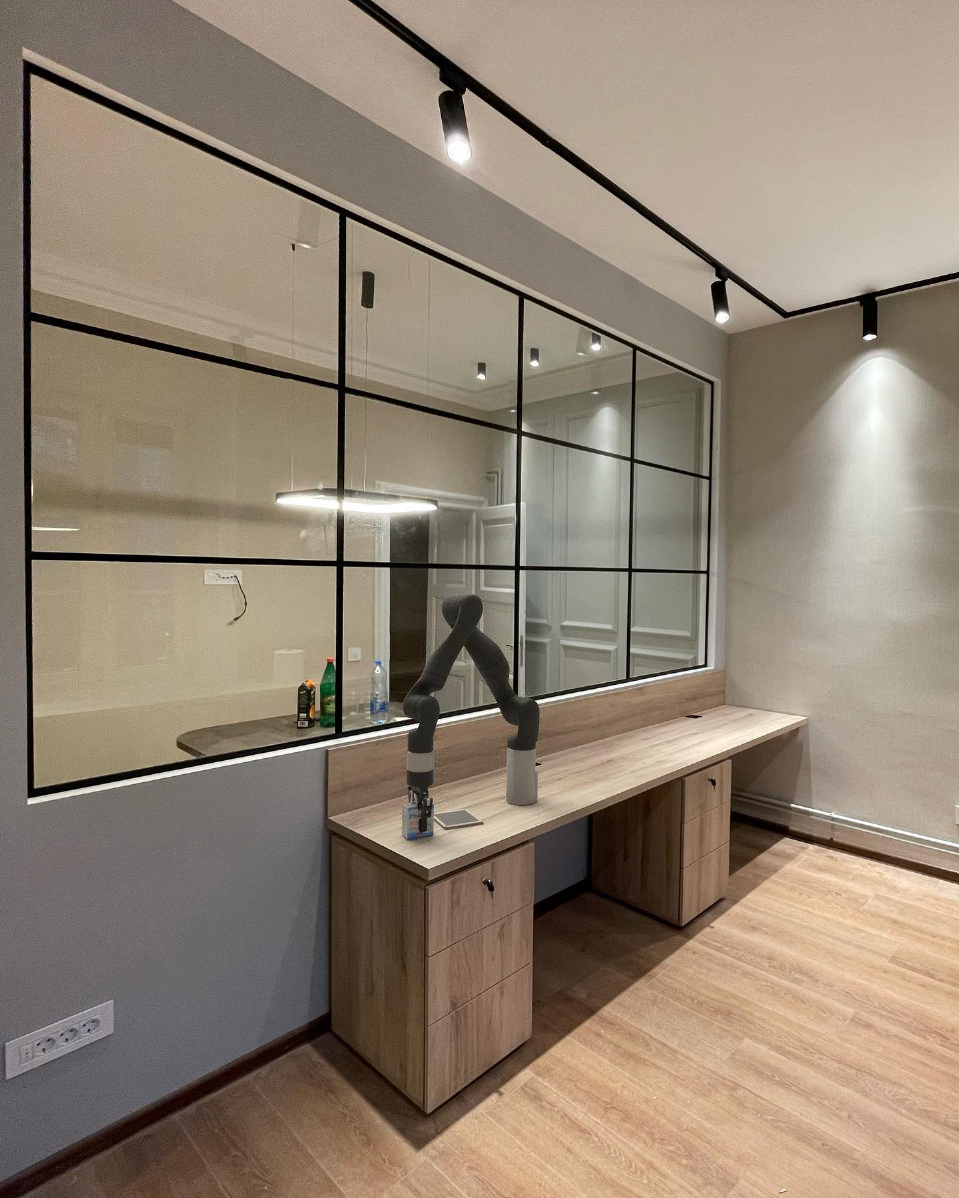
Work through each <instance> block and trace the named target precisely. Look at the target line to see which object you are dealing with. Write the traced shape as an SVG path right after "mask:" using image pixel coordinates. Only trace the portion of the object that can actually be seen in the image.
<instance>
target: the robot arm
mask: <svg viewBox="0 0 959 1198" xmlns="http://www.w3.org/2000/svg"><path fill="white" fill-rule="evenodd" d="M483 612H484V605H483V601H482V598H480V596H478V595H477V594H474V593H454V594H452V593H451V594H449V595H446V596H445V597H444V598H443V599H442V603H441V613H442V616H443V618H444V620H445V622H446V623H447V625H448V626H449V627H450V628H451V631H450V632H449V634H448V635H447V636H446V638H444V640H443V641H442V642H441V643H440V644H439V645H438V646H437V647H436V648H435V649H434V650H433V651H432V653H430V656H429V658H428V660H427V662H426V664H425V666H424V669H423V670H422V673H421V675H420V677H419V678H418V680H417V681H415V683H414V684H413V686H411V689H409V691H408V692H407V694H406V695H405V697H404V699H403V703H402V712H403V714H404V715H405V717H406V718H409V719H412V720H416V721H419V723H418V726H417V727H414V728H411V729H410V730H408V731H409V732H408V733H407V755H406V773H405V774H406V775H405V776H406V777H405V778H406V779H405V780H406V781H405V782H406V785H407V796H408V798H407V799H408V803H416V807H417V810H418V817H419V832H426V831H427V818H430V817H431V812H432V804H433V805H434V803H433V802H434V799H433V797H430V792H429V787H431V786H433V785H434V781H435V780H434V779H435V775H434V774H435V755H434V735H435V732H436V729H437V724H438V721H439V717H440V711H441V708H440V704H439V701H438V699H437V698H436V697H435V696H433V695H431V694H433V693H435V692H439V691H441V690H443V688H444V686H445V685H446V682H447V680H448V678H449V675H450V674H451V670H452V668H453V666H454V664H455V662H456V660H457V658H458V656H459V654H460V652H462V650H463V647H464V649H465V650H466V652H467V653H468V655H469V657H470V658H471V659H472V662H473V663H474V666H475V667H476V668H477V671H478V672H479V674H480V675H481V677H482V679H483V680H484V682H485V683H486V685H487V687H488V689H489V691H490V692H491V694H492V696H493V698H494V700H495V702H496V704H497V707H498V709H499V711H500V713H501V715H502V718H503V719H504V721H506V723H508V724H509V725H513V726H517V734H515V735H511V736H508V738H507V740H506V783H505V785H506V786H505V787H506V788H505V800H506V802H507V803H509V804H511V805H516V806H528V805H532V804H534V803H535V802H538V792H539V787H538V786H539V783H538V782H539V772H538V771H536V765H537V764H536V762H537V761H536V755H537V754H536V753H537V751H536V750H537V749H536V748H537V742H538V738H539V733H540V731H539V730H540V729H539V728H540V713H541V711H540V707H539V703H538V702H537V700H535V699H533V698H530V697H529V698H528V697H524V696H519V695H518V694H517V693H516V692H515V690H514V689H513V688H512V685H511V683H510V664H509V661H508V659H507V657H506V656H505V654H504V652H503V651H502V649H501V648H500V646H499V645H498V644H497V643H496V642H495V641H494V640H492V638H490V637H489V636H488V635H486V633H484V632H483V631H481V629H479V628H478V627H477V625H478V624H479V622H480V621H481V618H482V616H483ZM419 805H422V807H420V806H419ZM421 810H422V811H421Z"/></svg>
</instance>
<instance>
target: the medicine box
mask: <svg viewBox="0 0 959 1198" xmlns="http://www.w3.org/2000/svg"><path fill="white" fill-rule="evenodd" d="M419 806H420V807H422V805H419ZM421 811H422V810H421ZM434 813H435V804H434V803H433V804H432V812H431V817H430V818H427V831H426V832H419V817H418V810H417V807H416V803H409V802H408V803H402V804H401V835H402V836H404V838H405V839H406V840H413V839H420V838H426V837H432V836H434V831H435V829H434V827H435V826H434V825H435V821H434Z"/></svg>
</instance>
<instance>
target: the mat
mask: <svg viewBox="0 0 959 1198" xmlns="http://www.w3.org/2000/svg"><path fill="white" fill-rule="evenodd" d="M434 822H436V823H437V825H439V827H441V828H442V829H443V830H444V831H445V830H451V829H458V828H465V827H471V826H477V825H483V824H484V821H483V820H482V819H481V818H480V817H478V816H476V815H475V814H474V813H473V812H471V811H470V810H468V808H460V809H455V810H447V811H443V812H442V811H440V812H434Z"/></svg>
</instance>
